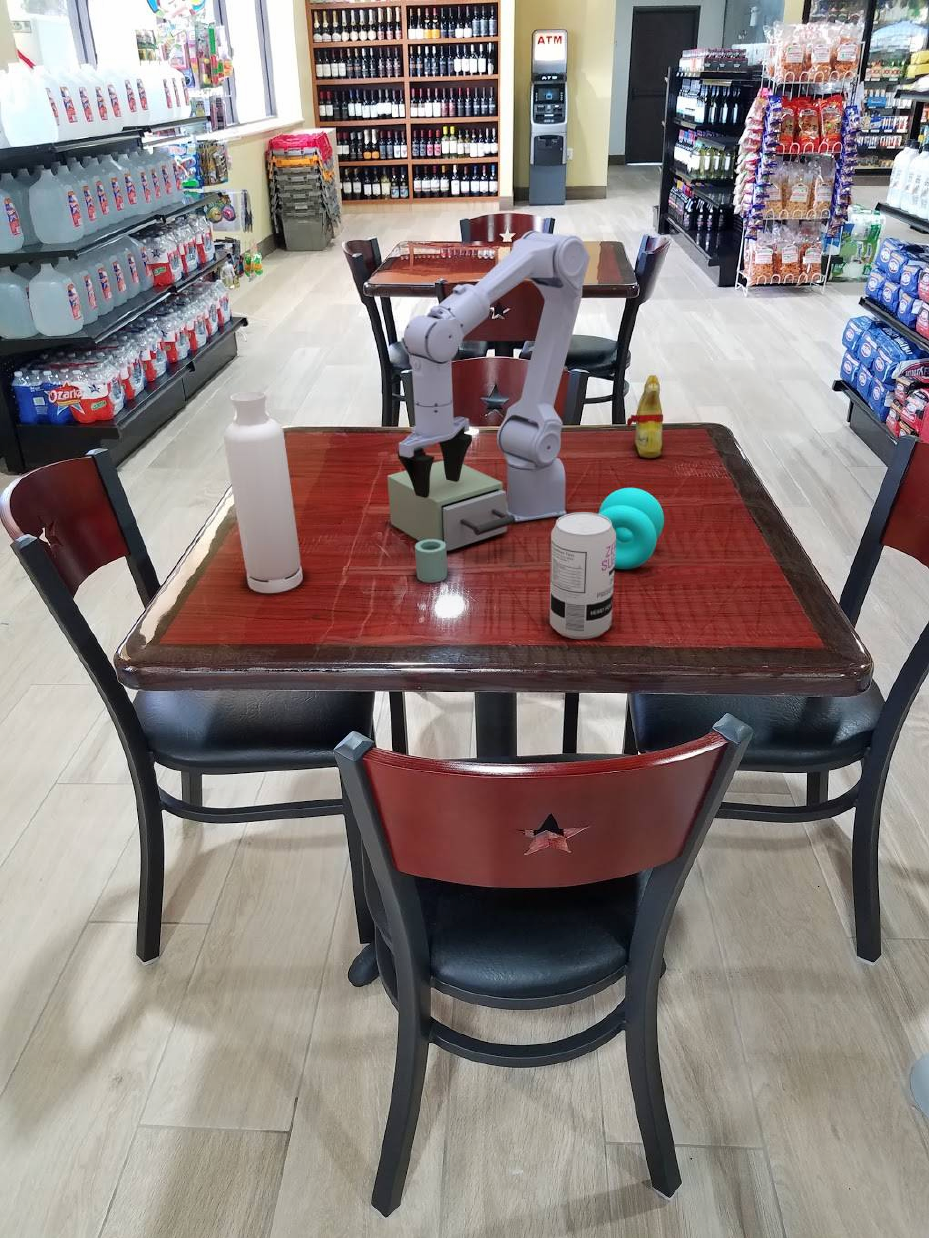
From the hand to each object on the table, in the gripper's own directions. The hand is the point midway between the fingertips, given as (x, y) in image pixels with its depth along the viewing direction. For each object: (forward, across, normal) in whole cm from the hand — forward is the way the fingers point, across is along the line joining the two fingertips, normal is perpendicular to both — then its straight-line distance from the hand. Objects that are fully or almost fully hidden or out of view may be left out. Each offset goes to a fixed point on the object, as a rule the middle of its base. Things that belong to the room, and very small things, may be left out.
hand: (437, 488), depth 144 cm
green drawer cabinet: (+10, -6, -3) cm, 12 cm away
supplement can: (+10, +10, +32) cm, 35 cm away
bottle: (+10, +23, -13) cm, 29 cm away
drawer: (+9, -4, +1) cm, 10 cm away
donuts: (+10, -12, +27) cm, 31 cm away
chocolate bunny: (+10, -56, +7) cm, 57 cm away
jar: (+10, +9, +6) cm, 15 cm away
